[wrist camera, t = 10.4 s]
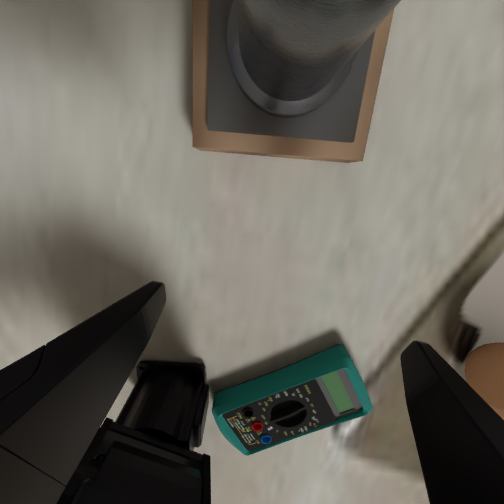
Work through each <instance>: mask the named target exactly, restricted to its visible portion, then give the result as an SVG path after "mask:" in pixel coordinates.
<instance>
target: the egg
mask: <svg viewBox="0 0 504 504" xmlns="http://www.w3.org/2000/svg"><path fill="white" fill-rule="evenodd" d="M465 377H466V381H467V383H468V384H469V385H470V386H471V387H472V388H473V389H474V390H475V391H476V392H477V393H478V394H479V395H480V396H481V397H482V398H483V399H484V400H485V402H486V403H487V404H488V405H489V406H490V407H491V408H492V409H493V410H494V411H495V412H496V413H497V414H498V415H499V416H500V417H501V418H502V419H503V420H504V343H491V344H485V345H482V346H480V347H477V348H476V349H475V350H473V351H472V352H471V353H470V354H469V356H468V358H467V359H466V364H465Z"/></svg>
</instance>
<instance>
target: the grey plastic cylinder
mask: <svg viewBox="0 0 504 504" xmlns="http://www.w3.org/2000/svg"><path fill="white" fill-rule="evenodd" d="M400 1H401V0H234V1H233V4H232V7H231V10H230V14H229V19H228V28H227V44H228V53H229V59H230V64H231V68H232V72H233V75H234V77H235V80H236V82H237V84H238V86H239V88H240V89H241V91H242V93H243V94H244V95H245V97H246V98H247V99H248V100H249V101H250V102H251V103H252V104H253V105H254V106H255V107H257V108H258V109H260V110H261V111H263V112H265V113H267V114H270V115H273V116H276V117H282V118H292V117H299V116H302V115H306V114H308V113H310V112H312V111H314V110H316V109H317V108H319V107H320V106H322V105H323V104H324V103H325V102H326V101H327V100H329V99H330V98H331V97H332V96H333V95H334V94H335V93H336V92H337V90H338V89H339V88H340V87H341V85H342V84H343V83H344V81H345V79H346V78H347V76H348V74H349V72H350V70H351V68H352V66H353V63H354V60H355V57H356V54H357V50H358V49H359V48H360V47H361V46H362V45H363V43H364V42H365V41H366V40H367V39H368V38H369V37H370V35H371V34H372V33H373V32H374V31H375V30H376V28H377V27H378V26H379V25H380V24H381V23H382V22H383V20H384V19H385V18H386V17H387V16H388V15H389V13H390V12H391V11H392V10H393V9H394V8H395V7H396V5H397V4H398V3H399V2H400Z"/></svg>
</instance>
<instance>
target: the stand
mask: <svg viewBox="0 0 504 504" xmlns="http://www.w3.org/2000/svg"><path fill="white" fill-rule="evenodd" d="M233 1H234V0H193V147H195V148H197V149H199V150H202V151H214V152H226V153H238V154H250V155H261V156H273V157H285V158H297V159H309V160H321V161H333V162H345V163H350V162H358V161H363V157H364V152H365V148H366V143H367V138H368V133H369V128H370V123H371V118H372V114H373V109H374V104H375V99H376V94H377V89H378V84H379V80H380V75H381V70H382V65H383V60H384V55H385V50H386V46H387V41H388V36H389V31H390V26H391V21H392V16H393V12H394V9H393V10H392V11H391V12H390V13H389V15H388V16H387V17H386V18H385V19H384V20H383V22H382V23H381V24H380V25H379V26H378V27H377V28H376V30H375V31H374V32H373V33H372V34H371V35H370V37H369V38H368V39H367V40H366V41H365V42H364V43H363V45H362V46H361V47H360V48H359V49H358V50H357V54H356V57H355V60H354V63H353V66H352V68H351V70H350V72H349V74H348V76H347V78H346V79H345V81H344V83H343V84H342V85H341V87H340V88H339V89H338V90H337V92H336V93H335V94H334V95H333V96H332V97H331V98H330V99H329V100H327V101H326V102H325V103H324V104H323V105H322V106H320V107H319V108H317V109H316V110H314V111H312V112H310V113H308V114H306V115H302V116H299V117H292V118H282V117H276V116H273V115H270V114H267V113H265V112H263V111H261V110H260V109H258V108H257V107H255V106H254V105H253V104H252V103H251V102H250V101H249V100H248V99H247V98H246V97H245V95H244V94H243V93H242V91H241V89H240V88H239V86H238V84H237V82H236V80H235V77H234V75H233V72H232V68H231V64H230V59H229V53H228V44H227V28H228V19H229V14H230V10H231V7H232V4H233Z"/></svg>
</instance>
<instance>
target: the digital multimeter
mask: <svg viewBox="0 0 504 504" xmlns="http://www.w3.org/2000/svg"><path fill="white" fill-rule="evenodd" d="M371 411H372V404H371V401H370V398H369V395H368V392H367V389H366V387H365V385H364V383H363V380H362V378H361V377H360V375H359V373H358V371H357V369H356V367H355V365H354V364H353V362H352V360H351V358H350V356H349V354H348V353H347V351H346V349H345V348H344V346H343V345H337V346H334V347H332V348H329V349H327V350H325V351H322V352H320V353H318V354H315V355H313V356H311V357H309V358H306V359H304V360H302V361H300V362H297V363H295V364H292V365H290V366H287V367H285V368H282V369H280V370H277V371H275V372H272V373H270V374H267V375H264V376H262V377H259V378H256V379H253V380H251V381H248V382H245V383H243V384H240V385H237V386H234V387H231V388H228V389H225V390H222V391H219V392H217V393H215V395H214V401H213V407H212V413H213V415H214V418H215V421H216V423H217V425H218V427H219V429H220V431H221V433H222V434H223V435H224V437H225V438H226V439H227V440H228V441H229V442H230V443H231V444H232V445H233V446H234V447H236V448H237V449H238V450H239V451H241V452H242V453H243V454H244V455H251V454H254V453H256V452H259V451H262V450H264V449H267V448H270V447H273V446H275V445H278V444H281V443H283V442H286V441H289V440H292V439H294V438H297V437H300V436H303V435H306V434H309V433H312V432H315V431H318V430H321V429H324V428H327V427H330V426H333V425H336V424H339V423H342V422H345V421H349V420H352V419H355V418H358V417H361V416H364V415H367V414H368V413H369V412H371Z"/></svg>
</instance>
